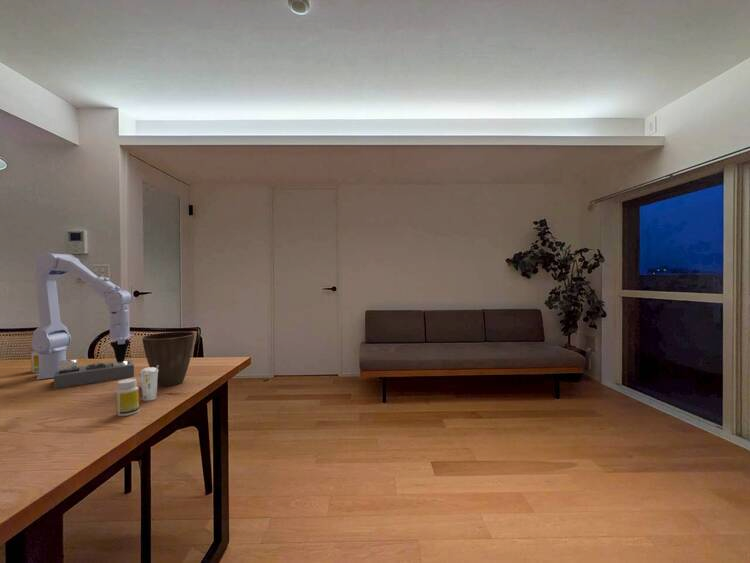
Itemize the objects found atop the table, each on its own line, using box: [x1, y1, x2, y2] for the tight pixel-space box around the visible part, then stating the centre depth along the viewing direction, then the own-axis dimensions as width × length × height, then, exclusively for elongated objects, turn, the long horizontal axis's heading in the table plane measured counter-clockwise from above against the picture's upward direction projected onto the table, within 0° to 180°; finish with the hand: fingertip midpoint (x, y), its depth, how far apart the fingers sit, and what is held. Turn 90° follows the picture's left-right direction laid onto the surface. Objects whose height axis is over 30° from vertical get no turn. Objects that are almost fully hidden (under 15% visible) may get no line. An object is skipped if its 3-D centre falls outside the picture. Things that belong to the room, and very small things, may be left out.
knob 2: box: [112, 359, 129, 366], centre depth 127 cm, size 4×4×4 cm
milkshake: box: [139, 365, 159, 402], centre depth 101 cm, size 5×5×10 cm
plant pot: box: [141, 331, 195, 387], centre depth 116 cm, size 15×15×16 cm
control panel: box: [53, 359, 135, 390], centre depth 122 cm, size 11×21×4 cm, turn 129°
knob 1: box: [60, 358, 79, 373], centre depth 118 cm, size 4×4×4 cm
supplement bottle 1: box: [30, 348, 39, 374], centre depth 133 cm, size 5×5×10 cm
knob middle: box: [87, 362, 105, 370], centre depth 122 cm, size 4×4×4 cm
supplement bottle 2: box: [115, 378, 140, 417], centre depth 91 cm, size 5×5×8 cm
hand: (120, 361), depth 127 cm, fingers closed
